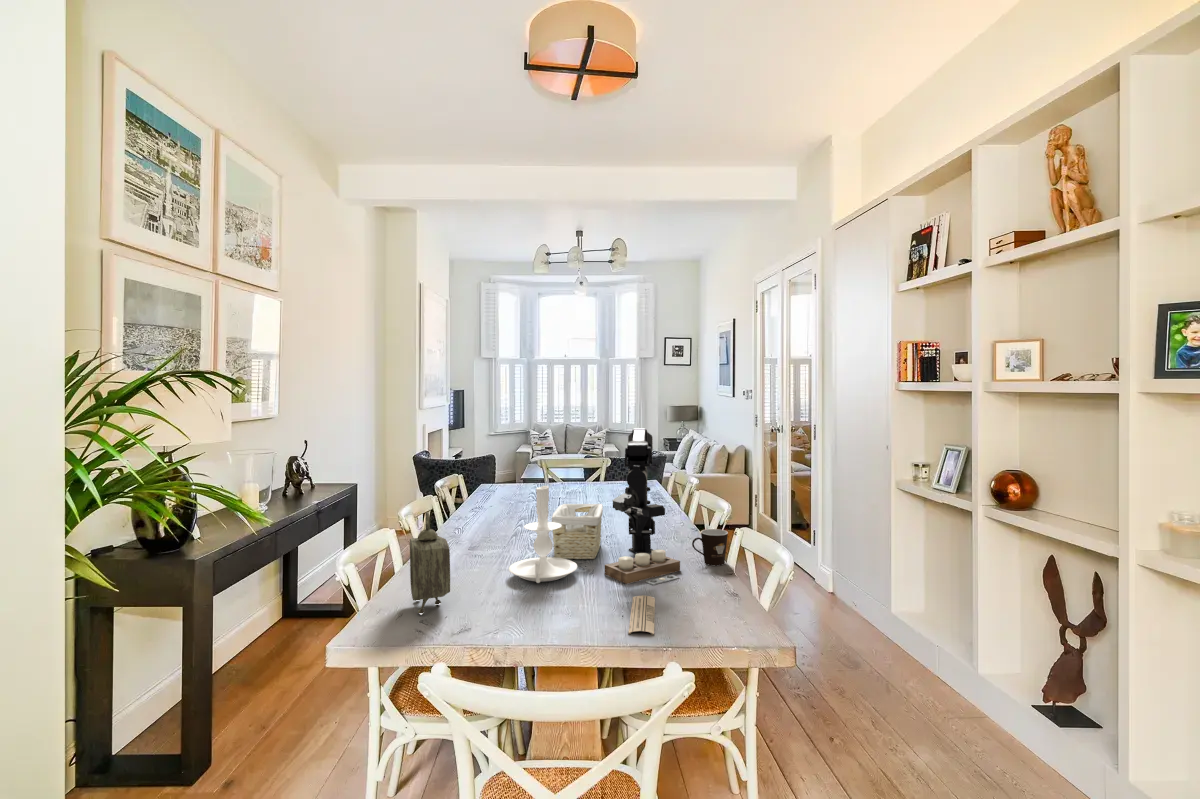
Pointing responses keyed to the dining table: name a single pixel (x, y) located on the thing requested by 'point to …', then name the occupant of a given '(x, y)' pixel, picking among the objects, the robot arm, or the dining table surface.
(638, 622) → the newspaper
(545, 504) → the candlestick
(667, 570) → the wooden compartment tray
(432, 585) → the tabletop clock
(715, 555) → the coffee mug
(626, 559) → the button
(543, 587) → the dining table surface
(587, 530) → the storage basket
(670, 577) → the card
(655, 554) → the button
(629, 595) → the dining table surface
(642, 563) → the button
